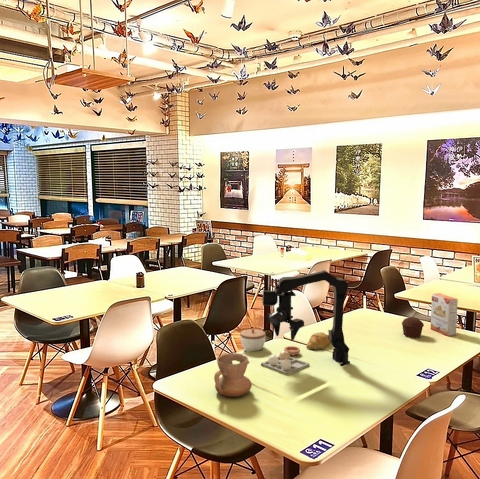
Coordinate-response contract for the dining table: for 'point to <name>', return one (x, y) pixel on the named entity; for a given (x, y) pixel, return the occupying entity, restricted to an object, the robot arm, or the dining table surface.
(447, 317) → the cracker box
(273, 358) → the white egg
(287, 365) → the white egg
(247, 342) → the lidded bowl
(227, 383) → the ceramic jug
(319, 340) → the croissant
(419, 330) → the muffin
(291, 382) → the dining table surface
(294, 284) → the robot arm
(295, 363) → the egg carton
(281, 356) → the brown egg
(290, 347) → the small terracotta bowl
